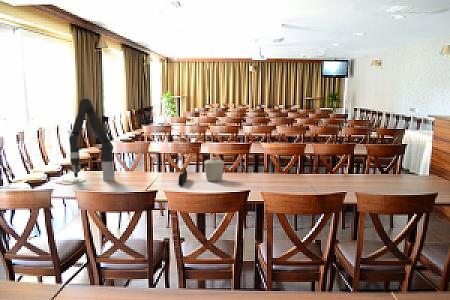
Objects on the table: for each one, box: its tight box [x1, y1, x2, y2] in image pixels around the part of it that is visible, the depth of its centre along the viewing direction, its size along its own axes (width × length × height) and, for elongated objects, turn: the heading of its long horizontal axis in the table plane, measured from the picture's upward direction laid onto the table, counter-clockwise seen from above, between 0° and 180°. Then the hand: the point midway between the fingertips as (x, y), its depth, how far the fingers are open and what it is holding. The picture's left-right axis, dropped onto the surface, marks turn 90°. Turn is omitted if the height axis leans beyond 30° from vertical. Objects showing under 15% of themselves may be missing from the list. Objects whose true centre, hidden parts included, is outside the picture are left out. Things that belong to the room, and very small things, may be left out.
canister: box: [203, 156, 226, 183], centre depth 358 cm, size 18×18×21 cm
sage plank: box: [65, 177, 87, 184], centre depth 351 cm, size 16×10×2 cm, turn 56°
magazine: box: [178, 167, 188, 186], centre depth 348 cm, size 17×3×30 cm
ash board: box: [55, 179, 77, 186], centre depth 343 cm, size 16×8×2 cm, turn 56°
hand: (76, 177), depth 353 cm, fingers closed
